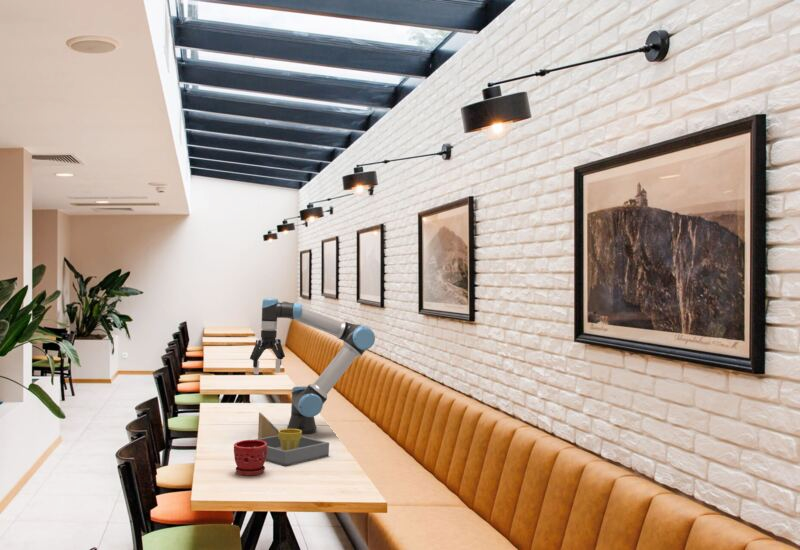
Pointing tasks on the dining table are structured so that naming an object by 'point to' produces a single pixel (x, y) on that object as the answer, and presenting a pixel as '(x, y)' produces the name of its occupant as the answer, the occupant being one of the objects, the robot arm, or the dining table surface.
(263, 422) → the sandwich container
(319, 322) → the robot arm
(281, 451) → the crate
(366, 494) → the dining table surface
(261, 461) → the plant pot
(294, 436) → the plant pot
